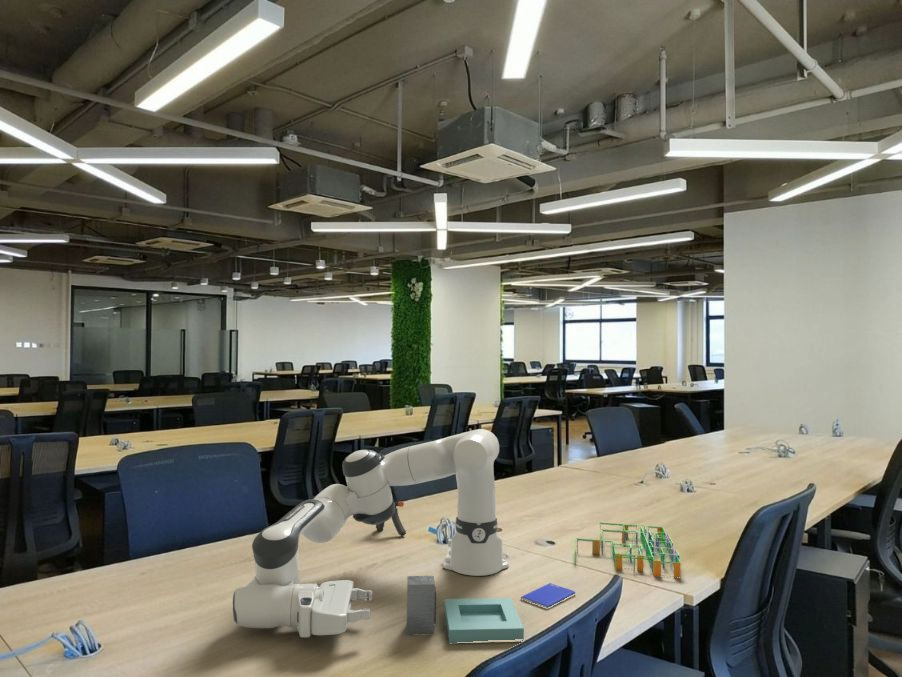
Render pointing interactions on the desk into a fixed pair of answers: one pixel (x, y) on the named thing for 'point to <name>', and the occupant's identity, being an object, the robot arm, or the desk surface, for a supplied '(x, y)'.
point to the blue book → (548, 595)
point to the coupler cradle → (482, 620)
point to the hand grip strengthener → (395, 521)
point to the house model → (653, 563)
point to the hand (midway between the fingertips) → (371, 604)
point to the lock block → (421, 605)
